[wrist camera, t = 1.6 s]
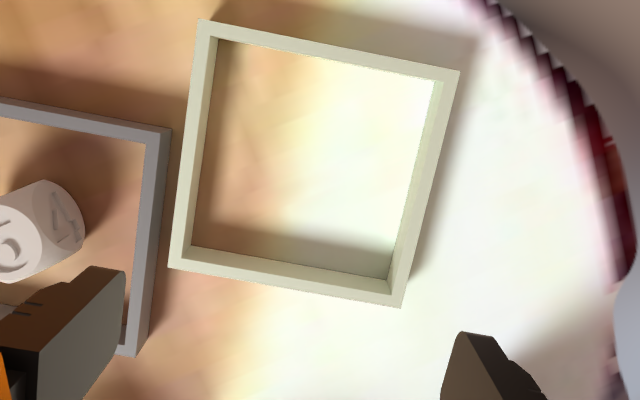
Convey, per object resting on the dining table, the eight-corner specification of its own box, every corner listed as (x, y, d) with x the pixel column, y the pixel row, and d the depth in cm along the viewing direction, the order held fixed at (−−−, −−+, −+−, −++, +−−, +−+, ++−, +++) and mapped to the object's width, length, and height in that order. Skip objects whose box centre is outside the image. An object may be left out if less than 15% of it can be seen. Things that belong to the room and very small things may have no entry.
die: (60, 172, 33) (16, 189, 29) (96, 237, 35) (59, 264, 30) (-4, 199, 34) (-58, 221, 29) (33, 263, 35) (-13, 293, 30)
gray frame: (172, 128, 33) (160, 133, 30) (147, 338, 36) (135, 357, 34) (-70, 83, 32) (-102, 83, 29) (-70, 302, 36) (-98, 318, 33)
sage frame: (449, 71, 32) (460, 71, 29) (395, 292, 35) (400, 308, 33) (207, 22, 31) (198, 18, 29) (177, 253, 35) (167, 267, 32)
